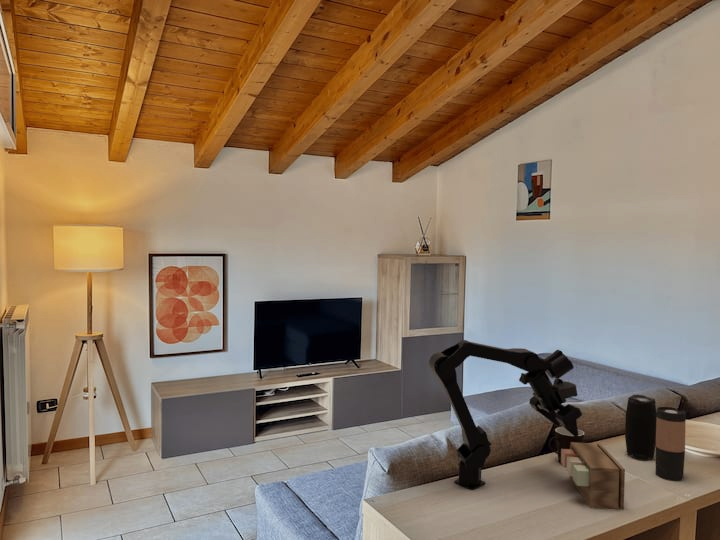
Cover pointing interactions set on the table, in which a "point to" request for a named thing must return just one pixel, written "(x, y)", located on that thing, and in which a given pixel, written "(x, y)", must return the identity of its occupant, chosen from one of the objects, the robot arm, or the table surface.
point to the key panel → (601, 477)
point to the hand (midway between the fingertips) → (567, 430)
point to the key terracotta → (567, 455)
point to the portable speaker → (641, 427)
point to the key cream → (573, 463)
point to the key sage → (581, 475)
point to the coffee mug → (565, 440)
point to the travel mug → (670, 443)
